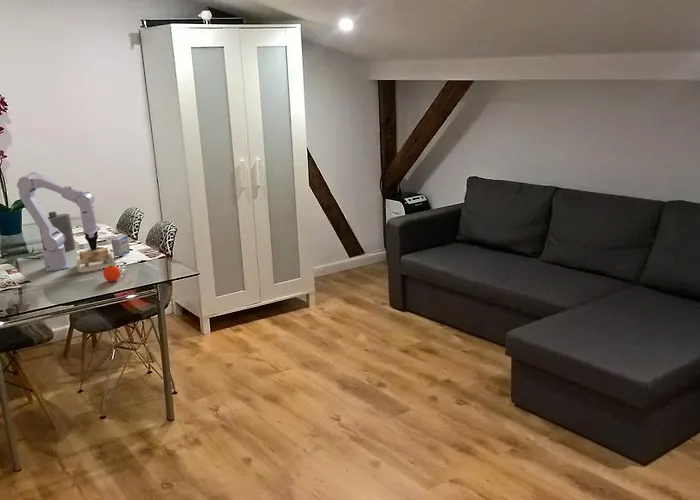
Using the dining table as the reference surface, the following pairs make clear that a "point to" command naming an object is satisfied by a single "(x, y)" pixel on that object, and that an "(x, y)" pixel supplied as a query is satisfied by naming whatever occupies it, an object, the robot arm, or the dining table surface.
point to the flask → (62, 229)
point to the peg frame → (95, 264)
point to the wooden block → (94, 255)
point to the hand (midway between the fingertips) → (93, 248)
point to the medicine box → (120, 245)
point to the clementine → (111, 273)
